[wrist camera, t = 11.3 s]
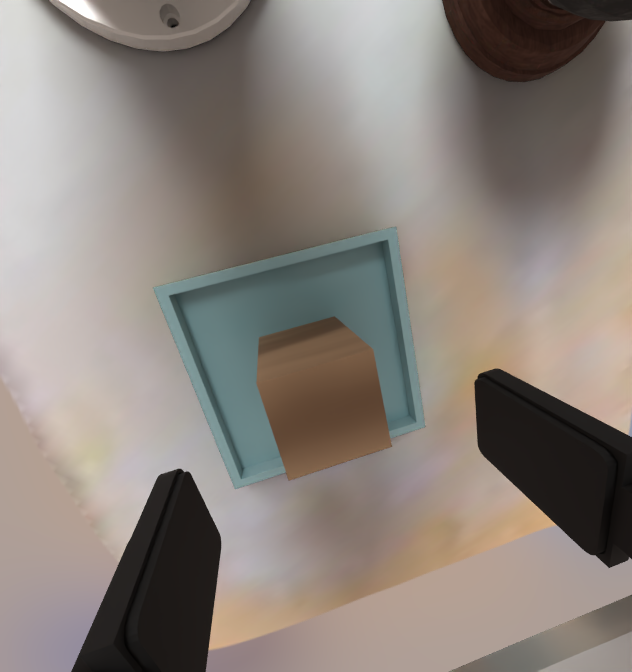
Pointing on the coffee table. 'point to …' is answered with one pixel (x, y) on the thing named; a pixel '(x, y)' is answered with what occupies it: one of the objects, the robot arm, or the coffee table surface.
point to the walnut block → (321, 396)
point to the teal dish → (285, 313)
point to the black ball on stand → (529, 32)
